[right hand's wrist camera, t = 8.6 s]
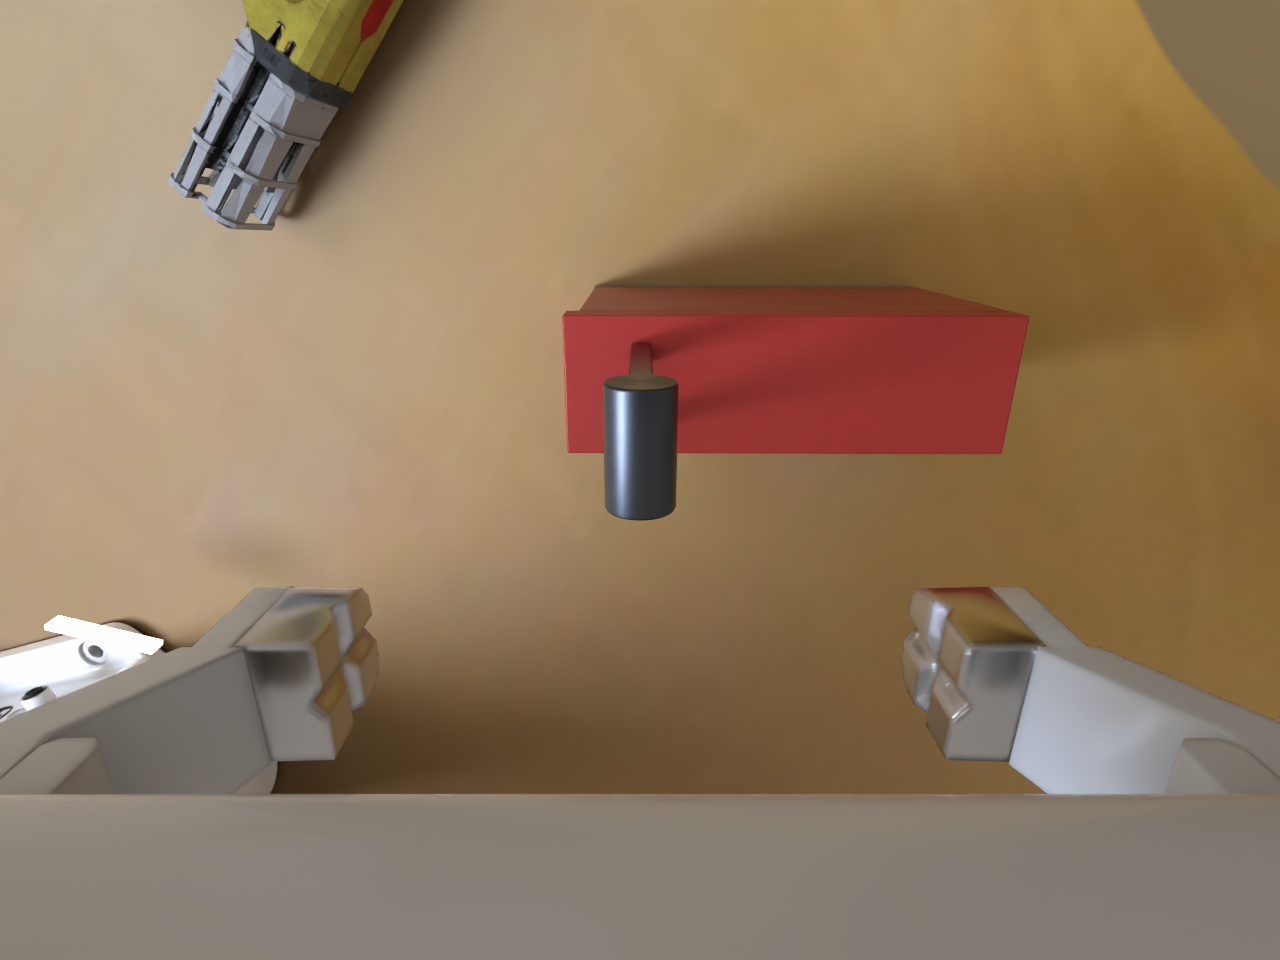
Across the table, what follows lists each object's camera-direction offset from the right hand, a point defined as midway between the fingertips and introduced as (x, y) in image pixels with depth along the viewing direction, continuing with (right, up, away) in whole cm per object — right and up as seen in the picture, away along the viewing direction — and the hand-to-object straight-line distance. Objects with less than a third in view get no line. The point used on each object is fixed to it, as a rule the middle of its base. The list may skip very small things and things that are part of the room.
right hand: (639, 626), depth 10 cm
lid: (+5, +6, +15) cm, 17 cm away
